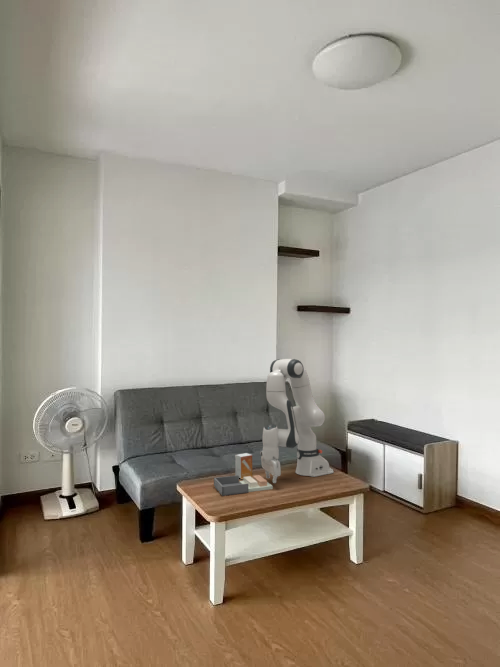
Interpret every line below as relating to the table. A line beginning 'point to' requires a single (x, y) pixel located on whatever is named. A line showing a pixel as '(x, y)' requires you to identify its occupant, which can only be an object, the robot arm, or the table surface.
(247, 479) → the cream tile
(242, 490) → the tray
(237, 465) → the small box
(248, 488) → the sage board
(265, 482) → the terracotta tile
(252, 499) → the table surface
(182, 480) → the table surface
